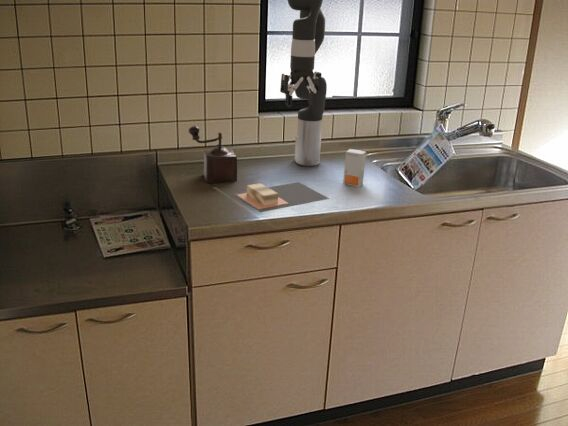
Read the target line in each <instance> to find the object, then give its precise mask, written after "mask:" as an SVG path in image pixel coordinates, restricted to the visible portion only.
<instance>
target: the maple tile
mask: <svg viewBox="0 0 568 426" xmlns="http://www.w3.org/2000/svg"><path fill="white" fill-rule="evenodd" d="M246 191H247V195H248V196H250V197H251V198H253V199H254V200H256V201H258V202H259V203H261V204H262V205H264V206H266V205H271V204H276V203H278V193H277V192H275V191H273V190H271V189H270V188H268V186H266V185H264V184H263V183H261V182H258V183H253V184H247V185H246Z"/></svg>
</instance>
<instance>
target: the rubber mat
mask: <svg viewBox="0 0 568 426" xmlns="http://www.w3.org/2000/svg"><path fill="white" fill-rule="evenodd" d="M267 187H268V186H267ZM268 188H270V189H271V190H273V191H275V192H277V193H278V203H276V204H271V205H266V206H264V205H262V204H261V203H259V202H258V201H256V200H254V199H253V198H251V197H250V196H248V195H247V190H244V191H239V192H233V193H232V195H233V196H234V197H237V198H238V199H239V200H241V201H242V202H244V203H246V204H247V205H248V206H250V207H252V208H253V209H255V210H257V211H258V212H259V213H264V212H268V211H269V212H270V211H274V210H279V209H284V208H289V207H294V206H298V205H304V204H310V203H315V202H318V201H324V200H329V199H330V198H329V197H328V196H326V195H324V194H322V193H320V192H318V191H316V190H315V189H312V188H311V187H309V186H307V185H305V184H303V183H301V182H299V181H297V182H291V183H286V184H279V185H274V186H269V187H268Z"/></svg>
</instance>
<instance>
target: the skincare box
mask: <svg viewBox="0 0 568 426" xmlns="http://www.w3.org/2000/svg"><path fill="white" fill-rule="evenodd" d="M366 158H367V151H363V150H360V149H353V148H349V149H348V150H346V151H345V159H344V170H343V182H342V184H344V185H348V186H351V187H355V188H356V187H357V188H359V187H361V186H362V185H363V184H364V175H365V165H366Z"/></svg>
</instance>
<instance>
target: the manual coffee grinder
mask: <svg viewBox="0 0 568 426" xmlns="http://www.w3.org/2000/svg"><path fill="white" fill-rule="evenodd" d="M188 133H189V134H190V135H191V136H192V139H191V140H192V141H195V142H196V143H198V144H207V143H212V142H217V141H218V143H217V145H216V146H214V147H213V148H210V149H209V148H208V149H207V148H206V149H203V178H204V180H205V182H206V183H207V184H208V185H209V184H210V185H212V184H214V185H215V184H223V183H229V182H237V181H238V157H237V155H236V153H235V151H234V149H233V148H227V147H225V146H222V140H223V136H222V135H223V133H222V132H218V133H217V134H218V136H217V137H216V138H212V139H206V140H200V139H201V136H200V135H199V133H200V127H199V126H197V125H192V126H190V127H189V128H188Z"/></svg>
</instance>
